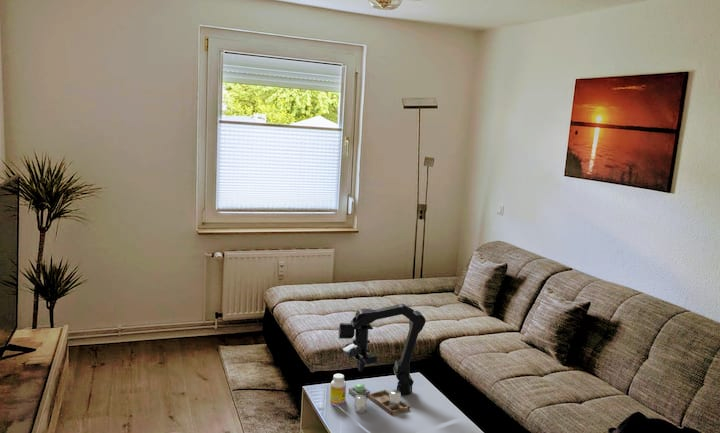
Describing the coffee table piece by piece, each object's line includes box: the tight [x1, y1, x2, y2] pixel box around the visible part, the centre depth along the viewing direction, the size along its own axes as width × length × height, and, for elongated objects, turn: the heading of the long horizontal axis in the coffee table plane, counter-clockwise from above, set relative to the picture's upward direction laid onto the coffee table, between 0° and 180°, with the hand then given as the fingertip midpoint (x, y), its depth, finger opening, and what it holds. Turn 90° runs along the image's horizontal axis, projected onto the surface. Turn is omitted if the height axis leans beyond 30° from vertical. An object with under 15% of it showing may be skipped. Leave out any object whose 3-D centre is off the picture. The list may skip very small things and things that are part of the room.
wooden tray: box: [367, 389, 411, 416], centre depth 248 cm, size 9×18×3 cm, turn 34°
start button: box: [354, 383, 365, 393], centre depth 256 cm, size 4×4×3 cm
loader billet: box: [388, 389, 402, 410], centre depth 244 cm, size 5×5×7 cm
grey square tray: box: [348, 386, 371, 398], centre depth 256 cm, size 7×7×3 cm
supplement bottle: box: [329, 373, 347, 407], centre depth 248 cm, size 7×7×13 cm
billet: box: [354, 395, 368, 414], centre depth 240 cm, size 5×5×7 cm
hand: (360, 371), depth 254 cm, fingers closed
